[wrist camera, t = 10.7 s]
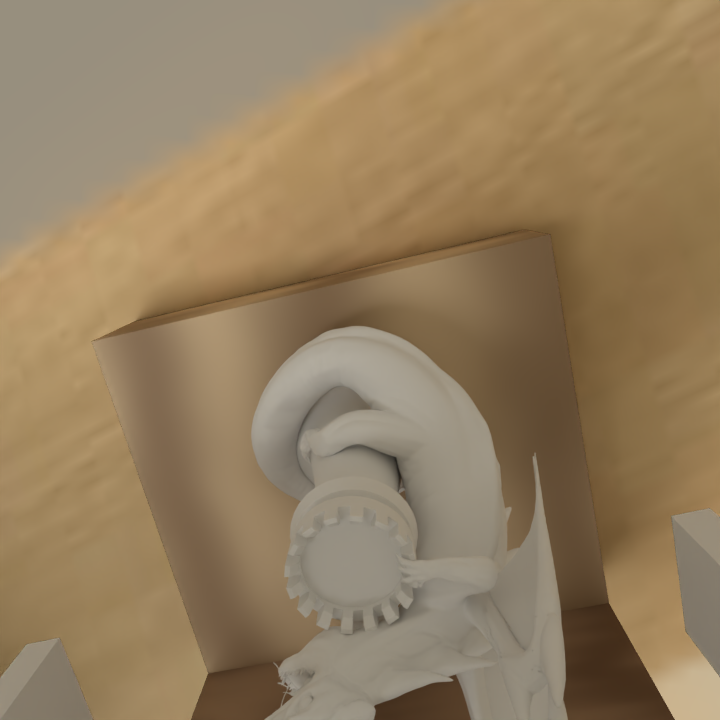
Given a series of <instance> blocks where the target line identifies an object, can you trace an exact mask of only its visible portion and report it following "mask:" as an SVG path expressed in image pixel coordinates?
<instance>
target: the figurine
mask: <svg viewBox="0 0 720 720" xmlns="http://www.w3.org/2000/svg"><path fill="white" fill-rule="evenodd" d="M251 440H252V447H253V450H254V453H255V457H256V460H257V463H258V465H259V467H260V468H261V470H262V471H263V473H264V474H265V476H266V477H267V478H268V480H269V481H270V482H271V483H272V484H273V485H275V486H276V487H277V488H278V489H280V490H281V491H283V492H284V493H286V494H287V495H289V496H291V497H293V498H295V499H297V500H299V501H301V502H300V503H299V504H298V506H297V508H296V510H295V512H294V514H293V518H292V521H291V525H290V540H291V543H290V547H289V551H288V555H287V559H286V563H285V572H284V577H289V578H288V583H287V587H286V589H287V592H288V594H289V597H290V599H293V598H295V597H296V596H297V595H299V602H298V608H297V610H298V611H299V612H300V613H301V614H302V615H303V616H304V617H305V618H306V617H307V616H309V615H310V613H311V611H312V609H314V610H315V611H317V612H318V615H317V622H316V625H317V626H319V627H321V628H324V630H323V631H322V632H320V633H319V634H317V635H316V636H315V637H314V638H313V639H312V640H311V641H310V642H309V643H308V644H307V645H306V646H305V647H304V648H303V649H302V650H301V651H300V652H299V653H296V654H294V655H292V656H291V657H288V658H286V659H285V660H284V661H283V662H282V664H281V665H280V667H279V668H278V666H277V665H276V664H275V663H274V662H273V663H274V664H275V665H276V667H277V668H278V673H279V677H280V676H281V677H280V679H281V680H282V683H281V682H278V684H281V685H283V686H285V687H287V688H289V687H290V689H289V690H291V689H292V691H291V692H290V693H288V692H287V691H286V692H283V693H285V694H286V693H288V694H289V695H291V696H293V697H292V698H291V699H290V700H289V701H287V702H286V703H285V704H284V705H283V706H282V703H283V700H282V703H281V707H280V708H279V709H278V710H276V711H275V712H274V713H273V714H272V715H270V716H268V717H267V718H266V719H264V720H374V717H375V713H376V710H375V708H374V706H375V705H377V704H380V703H382V702H385V701H388V700H391V699H394V698H396V697H399V696H401V695H403V694H405V693H407V692H410V691H412V690H415V689H417V688H420V687H423V686H426V685H428V684H431V683H435V682H448V681H449V682H450V681H453V679H451V678H449V676H452V675H456V676H457V678H458V680H459V683H460V685H461V688H462V690H463V694H464V697H465V700H466V703H467V707H468V711H469V714H470V718H471V720H568V718H567V713H566V708H565V704H564V701H563V696H564V689H565V681H566V667H565V649H564V638H563V632H562V624H561V608H560V600H559V594H558V587H557V580H556V575H555V568H554V563H553V556H552V551H551V545H550V540H549V534H548V530H547V524H546V517H545V514H544V507H543V499H542V492H541V485H540V479H539V472H538V466H537V459H536V453H535V454H534V456H533V465H534V474H535V483H536V502H535V512H534V517H533V521H532V524H531V528H530V531H529V534H528V535H527V537H526V538H525V540H524V542H523V543H522V545H521V546H520V548H514V549H512V550H509V551H507V521H508V519H509V516H510V513H511V509H512V508H511V507H508V508H505V506H504V500H503V496H502V490H501V487H502V485H501V472H500V464H499V462H498V460H497V458H496V455H495V451H494V446H493V441H492V437H491V433H490V430H489V427H488V425H487V423H486V421H485V420H484V418H483V417H482V415H481V414H480V412H479V410H478V409H477V407H476V406H475V404H474V402H473V401H472V399H471V398H470V397H469V395H468V394H467V393H466V391H465V390H464V389H463V388H462V387H461V386H460V385H459V384H458V383H457V382H456V381H455V380H454V379H453V378H452V377H451V376H449V375H448V374H447V373H445V372H444V371H443V370H442V369H440V368H439V367H438V366H437V365H436V364H435V363H434V362H433V361H432V360H431V359H430V358H429V357H428V356H427V355H426V354H425V353H423V352H422V351H421V350H420V349H418V348H417V347H415V346H414V345H413V344H411V343H409V342H408V341H406V340H404V339H402V338H400V337H398V336H396V335H393V334H391V333H388V332H385V331H382V330H378V329H375V328H371V327H366V326H350V327H345V328H339V329H333V330H329V331H327V332H324V333H323V334H321V335H319V336H318V337H316V338H315V339H313V340H312V341H310V342H308V343H307V344H305V345H304V346H302V347H301V348H299V349H298V350H297V351H296V352H295V353H294V354H293V355H292V356H290V357H289V358H288V359H287V360H286V361H285V362H284V363H283V364H282V365H281V367H280V368H279V369H278V370H277V372H276V373H275V374H274V376H273V377H272V378H271V380H270V381H269V383H268V384H267V386H266V388H265V389H264V391H263V393H262V395H261V398H260V400H259V403H258V406H257V408H256V411H255V414H254V417H253V422H252V429H251ZM534 457H535V458H534ZM404 490H405V495H406V501H405V500H404V499H403V497H402V496H401V495H400V494H399V493H401V492H403V491H404ZM400 603H401V605H400V606H399V608H398V605H399V604H400ZM332 618H334V619H338V620H341V626H332V627H329V626H330V622H331V619H332ZM504 619H505V620H504ZM509 626H510V627H509ZM510 628H511V629H510ZM285 682H286V683H287V685H288V686H286V685H284V683H285ZM287 690H288V689H287ZM284 697H285V695H284ZM284 697H283V699H284Z"/></svg>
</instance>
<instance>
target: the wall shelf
mask: <svg viewBox="0 0 720 720" xmlns="http://www.w3.org/2000/svg"><path fill="white" fill-rule="evenodd" d="M350 326H366V327H371V328H375V329H378V330H382V331H385V332H388V333H391V334H393V335H396V336H398V337H400V338H402V339H404V340H406V341H408V342H409V343H411V344H413V345H414V346H415V347H417V348H418V349H420V350H421V351H422V352H423V353H425V354H426V355H427V356H428V357H429V358H430V359H431V360H432V361H433V362H434V363H435V364H436V365H437V366H438V367H439V368H440V369H442V370H443V371H444V372H445V373H447V374H448V375H449V376H451V377H452V378H453V379H454V380H455V381H456V382H457V383H458V384H459V385H460V386H461V387H462V388H463V389H464V390H465V391H466V393H467V394H468V395H469V397H470V398H471V399H472V401H473V402H474V404H475V406H476V407H477V409H478V410H479V412H480V414H481V415H482V417H483V418H484V420H485V421H486V423H487V425H488V427H489V430H490V433H491V437H492V441H493V446H494V451H495V455H496V458H497V460H498V462H499V464H500V472H501V485H502V487H501V490H502V496H503V500H504V506H505V508H508V507H511V508H512V509H511V513H510V516H509V519H508V521H507V551H509V550H512V549H514V548H520V546H521V545H522V543H523V542H524V540H525V538H526V537H527V535H528V534H529V531H530V528H531V524H532V521H533V517H534V512H535V502H536V483H535V474H534V465H533V456H534V454H535V453H536V459H537V466H538V472H539V479H540V485H541V492H542V499H543V507H544V514H545V517H546V524H547V530H548V534H549V540H550V545H551V551H552V556H553V563H554V568H555V575H556V580H557V587H558V594H559V600H560V608H561V624H562V632H563V638H564V649H565V667H566V681H565V689H564V696H563V701H564V704H565V708H566V713H567V718H568V720H675V719H674V718H673V716H672V714H671V712H670V711H669V709H668V707H667V705H666V703H665V702H664V700H663V698H662V696H661V695H660V693H659V691H658V689H657V688H656V686H655V684H654V682H653V680H652V679H651V677H650V675H649V673H648V672H647V670H646V668H645V666H644V665H643V663H642V661H641V659H640V657H639V656H638V654H637V652H636V650H635V649H634V647H633V645H632V643H631V642H630V640H629V638H628V636H627V634H626V633H625V631H624V629H623V627H622V626H621V624H620V622H619V620H618V619H617V617H616V615H615V613H614V611H613V610H612V608H611V606H610V604H609V601H608V595H607V589H606V582H605V576H604V570H603V564H602V557H601V551H600V545H599V538H598V532H597V526H596V519H595V513H594V507H593V500H592V494H591V488H590V482H589V475H588V469H587V463H586V456H585V450H584V444H583V437H582V431H581V425H580V419H579V412H578V406H577V400H576V393H575V387H574V381H573V374H572V368H571V362H570V355H569V349H568V343H567V337H566V330H565V324H564V318H563V311H562V305H561V299H560V292H559V286H558V280H557V274H556V267H555V261H554V255H553V248H552V242H551V236H550V234H546V233H540V232H535V231H529V230H521V231H517V232H512V233H508V234H504V235H500V236H495V237H491V238H487V239H483V240H478V241H474V242H470V243H466V244H461V245H457V246H453V247H449V248H444V249H440V250H436V251H432V252H427V253H423V254H419V255H415V256H410V257H406V258H402V259H398V260H394V261H389V262H385V263H381V264H377V265H372V266H368V267H364V268H360V269H355V270H351V271H347V272H343V273H338V274H334V275H330V276H326V277H321V278H317V279H313V280H309V281H304V282H300V283H296V284H292V285H287V286H283V287H279V288H275V289H270V290H266V291H262V292H258V293H253V294H249V295H245V296H241V297H236V298H232V299H228V300H224V301H219V302H215V303H211V304H207V305H202V306H198V307H194V308H190V309H185V310H181V311H177V312H173V313H169V314H164V315H160V316H156V317H152V318H147V319H143V320H139V321H135V322H132V323H130V324H128V325H126V326H124V327H122V328H119V329H117V330H115V331H113V332H111V333H109V334H107V335H105V336H102V337H100V338H98V339H96V340H94V341H92V344H93V347H94V350H95V353H96V356H97V358H98V361H99V364H100V367H101V370H102V373H103V376H104V378H105V381H106V384H107V387H108V390H109V393H110V395H111V398H112V401H113V404H114V407H115V410H116V412H117V415H118V418H119V421H120V424H121V427H122V429H123V432H124V435H125V438H126V441H127V444H128V447H129V449H130V452H131V455H132V458H133V461H134V464H135V466H136V469H137V472H138V475H139V478H140V481H141V483H142V486H143V489H144V492H145V495H146V498H147V500H148V503H149V506H150V509H151V512H152V515H153V518H154V520H155V523H156V526H157V529H158V532H159V535H160V537H161V540H162V543H163V546H164V549H165V552H166V554H167V557H168V560H169V563H170V566H171V569H172V571H173V574H174V577H175V580H176V583H177V586H178V589H179V591H180V594H181V597H182V600H183V603H184V606H185V608H186V611H187V614H188V617H189V620H190V623H191V625H192V628H193V631H194V634H195V637H196V640H197V642H198V645H199V648H200V651H201V654H202V657H203V660H204V662H205V665H206V668H207V671H208V676H207V678H206V681H205V684H204V686H203V689H202V692H201V694H200V697H199V700H198V702H197V705H196V708H195V711H194V713H193V716H192V719H191V720H264V719H266V718H267V717H268V716H270V715H272V714H273V713H274V712H275V711H276V710H278V709H279V708H280V707H281V703H282V700H283V703H282V706H283V705H284V704H285V703H286V702H287V701H289V700H290V699H291V698H292V697H293V696H291V695H289V694H288V693H290V692H291V691H292V689H291V690H289V689H290V687H289V688H287V687H285V686H283V685H281V684H278V682H281V683H282V680H281V679H280V677H281V676H280V677H279V673H278V668H279V667H280V665H281V664H282V662H283V661H284V660H285V659H286V658H288V657H291V656H292V655H294V654H296V653H299V652H300V651H301V650H302V649H303V648H304V647H305V646H306V645H307V644H308V643H309V642H310V641H311V640H312V639H313V638H314V637H315V636H316V635H317V634H319V633H320V632H322V631H323V630H324V628H321V627H319V626H317V625H316V622H317V615H318V612H317V611H315V610H314V609H312V611H311V613H310V615H309V616H307V617H306V618H305V617H304V616H303V615H302V614H301V613H300V612H299V611H298V610H297V608H298V602H299V595H297V596H296V597H295V598H293V599H290V597H289V594H288V592H287V589H286V587H287V583H288V578H289V577H284V572H285V563H286V559H287V555H288V551H289V547H290V543H291V540H290V525H291V521H292V518H293V514H294V512H295V510H296V508H297V506H298V504H299V503H300V502H301V501H299V500H297V499H295V498H293V497H291V496H289V495H287V494H286V493H284V492H283V491H281V490H280V489H278V488H277V487H276V486H275V485H273V484H272V483H271V482H270V481H269V480H268V478H267V477H266V476H265V474H264V473H263V471H262V470H261V468H260V467H259V465H258V463H257V460H256V457H255V453H254V450H253V447H252V440H251V429H252V422H253V417H254V414H255V411H256V408H257V406H258V403H259V400H260V398H261V395H262V393H263V391H264V389H265V388H266V386H267V384H268V383H269V381H270V380H271V378H272V377H273V376H274V374H275V373H276V372H277V370H278V369H279V368H280V367H281V365H282V364H283V363H284V362H285V361H286V360H287V359H288V358H289V357H290V356H292V355H293V354H294V353H295V352H296V351H297V350H298V349H299V348H301V347H302V346H304V345H305V344H307V343H308V342H310V341H312V340H313V339H315V338H316V337H318V336H319V335H321V334H323V333H324V332H327V331H329V330H333V329H339V328H345V327H350ZM534 458H535V457H534ZM399 494H400V495H401V496H402V497H403V499H404V500H405V501H406V495H405V490H404V491H403V492H401V493H399ZM400 605H401V603H400V604H399V605H398V608H399V606H400ZM504 620H505V619H504ZM332 626H341V620H338V619H334V618H332V619H331V622H330V626H329V627H332ZM509 627H510V626H509ZM510 629H511V628H510ZM273 662H274V663H275V664H276V665H277V666H278V668H277V667H276V665H275V664H274V663H273ZM449 678H451V679H453V681H450V682H449V681H448V682H435V683H431V684H428V685H426V686H423V687H420V688H417V689H415V690H412V691H410V692H407V693H405V694H403V695H401V696H399V697H396V698H394V699H391V700H388V701H385V702H382V703H380V704H377V705H375V706H374V708H375V710H376V713H375V717H374V720H471V718H470V714H469V711H468V707H467V703H466V700H465V697H464V694H463V690H462V688H461V685H460V683H459V680H458V678H457V676H456V675H452V676H449ZM284 685H286V686H288V685H287V683H286V682H285V683H284ZM287 689H288V690H287ZM286 691H287V692H288V693H286V694H285V693H283V692H286ZM284 695H285V697H284ZM283 697H284V699H283Z"/></svg>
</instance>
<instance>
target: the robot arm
mask: <svg viewBox="0 0 720 720" xmlns="http://www.w3.org/2000/svg"><path fill="white" fill-rule="evenodd" d="M671 518H672V526H673V534H674V542H675V550H676V558H677V566H678V574H679V582H680V590H681V598H682V606H683V614H684V622H685V630H686V632H687V634H688V635H689V636H690V638H691V639H692V640H693V642H694V643H695V644H696V646H697V647H698V648H699V650H700V651H701V652H702V654H703V655H704V656H705V658H706V659H707V660H708V662H709V663H710V664H711V666H712V667H713V668H714V670H715V671H716V672H717V674H718V675H719V676H720V517H719V516H718V515H717V514H716V513H715V512H714V511H712V510H711V509H710V508H708V509H703V510H698V511H693V512H688V513H683V514H678V515H673V516H671ZM0 720H93V718H92V715H91V713H90V710H89V708H88V705H87V703H86V701H85V698H84V696H83V693H82V691H81V688H80V686H79V684H78V681H77V679H76V676H75V674H74V671H73V669H72V667H71V664H70V662H69V659H68V657H67V655H66V652H65V650H64V647H63V645H62V642H61V640H60V638H55V639H50V640H45V641H40V642H35V643H30V644H26V646H25V647H24V648H23V649H22V651H21V652H20V653H19V654H18V656H17V657H16V658H15V660H14V661H13V662H12V663H11V665H10V666H9V667H8V668H7V670H6V671H5V672H4V673H3V675H2V676H1V677H0Z"/></svg>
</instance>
